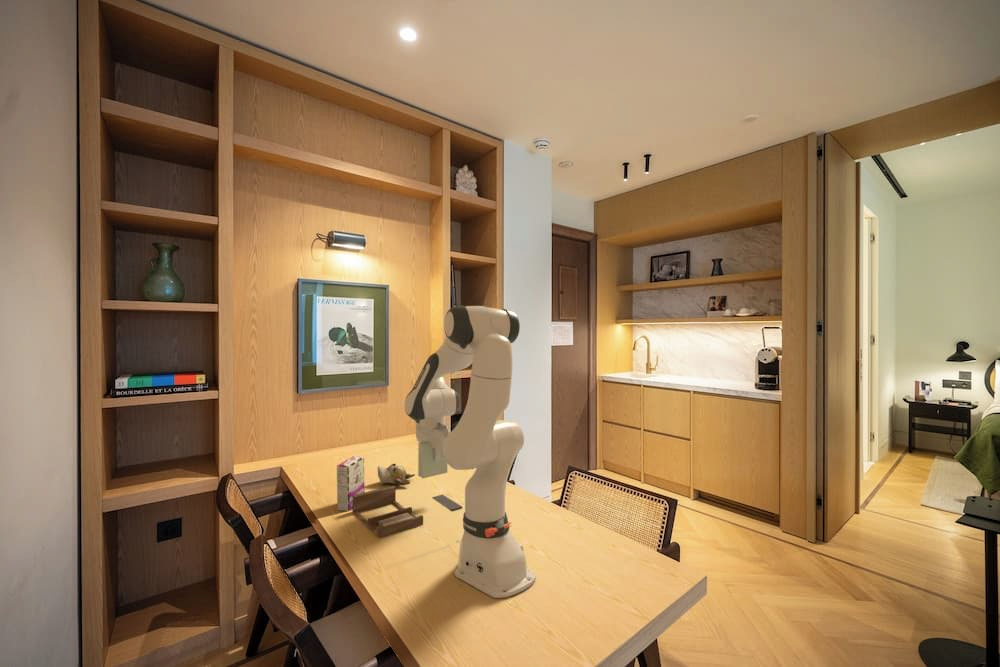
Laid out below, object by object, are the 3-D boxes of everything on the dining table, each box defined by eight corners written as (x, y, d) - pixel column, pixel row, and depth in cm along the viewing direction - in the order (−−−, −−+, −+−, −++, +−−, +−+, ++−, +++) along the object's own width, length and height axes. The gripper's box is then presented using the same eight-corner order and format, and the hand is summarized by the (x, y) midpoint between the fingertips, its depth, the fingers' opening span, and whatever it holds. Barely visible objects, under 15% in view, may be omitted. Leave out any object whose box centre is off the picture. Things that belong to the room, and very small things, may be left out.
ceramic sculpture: (381, 458, 184) (416, 460, 184) (380, 478, 185) (414, 480, 184) (374, 466, 174) (410, 469, 174) (372, 488, 174) (409, 490, 174)
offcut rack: (423, 528, 139) (423, 506, 139) (378, 542, 130) (378, 519, 130) (393, 504, 158) (393, 485, 158) (352, 515, 149) (352, 495, 149)
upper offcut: (415, 524, 139) (415, 518, 139) (386, 534, 133) (386, 527, 133) (407, 518, 144) (407, 512, 143) (378, 527, 137) (378, 521, 137)
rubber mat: (462, 508, 155) (462, 506, 155) (422, 520, 145) (422, 518, 145) (442, 496, 166) (442, 494, 166) (404, 506, 156) (404, 504, 156)
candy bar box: (353, 498, 163) (352, 455, 163) (365, 499, 162) (365, 456, 162) (336, 510, 152) (336, 464, 152) (348, 512, 151) (348, 465, 151)
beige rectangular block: (447, 472, 157) (447, 440, 157) (422, 478, 151) (423, 444, 151) (442, 470, 160) (442, 438, 160) (418, 475, 154) (418, 442, 154)
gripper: (455, 425, 149) (455, 464, 149) (427, 415, 165) (427, 450, 165) (440, 427, 145) (439, 468, 145) (412, 417, 161) (412, 453, 161)
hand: (433, 458), depth 155 cm, fingers closed on beige rectangular block, 3 cm apart
